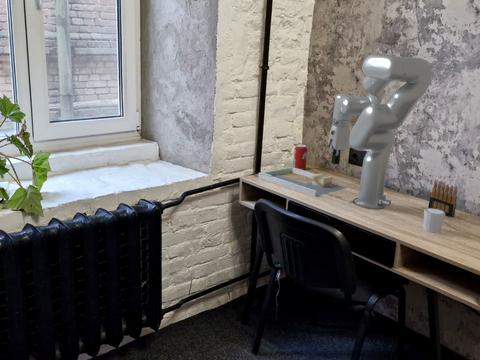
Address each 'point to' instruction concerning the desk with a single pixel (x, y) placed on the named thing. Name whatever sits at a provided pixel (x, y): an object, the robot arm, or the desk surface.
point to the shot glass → (433, 220)
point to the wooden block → (322, 180)
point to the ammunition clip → (443, 199)
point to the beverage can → (300, 157)
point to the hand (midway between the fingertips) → (335, 163)
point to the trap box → (306, 188)
